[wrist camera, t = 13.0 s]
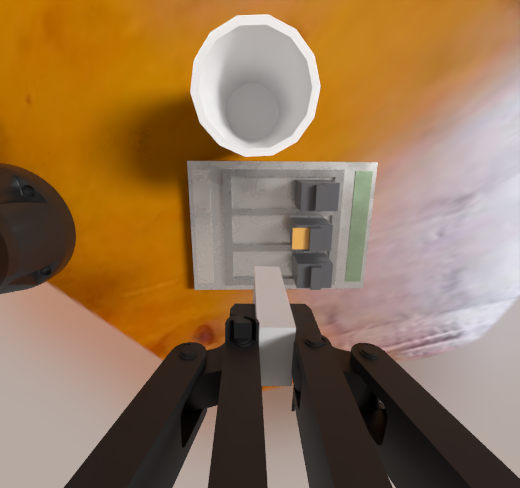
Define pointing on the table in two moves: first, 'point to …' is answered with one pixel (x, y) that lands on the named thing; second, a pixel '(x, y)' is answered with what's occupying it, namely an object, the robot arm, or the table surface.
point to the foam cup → (255, 85)
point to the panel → (273, 219)
